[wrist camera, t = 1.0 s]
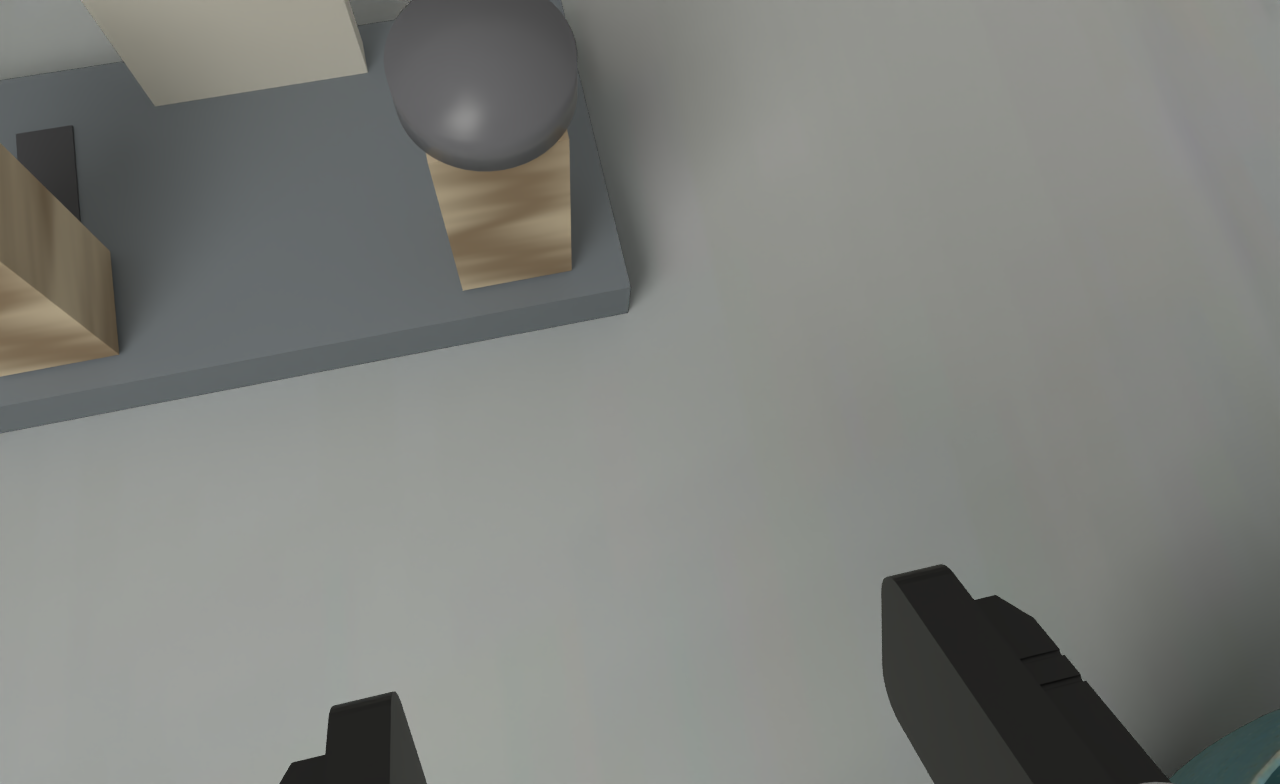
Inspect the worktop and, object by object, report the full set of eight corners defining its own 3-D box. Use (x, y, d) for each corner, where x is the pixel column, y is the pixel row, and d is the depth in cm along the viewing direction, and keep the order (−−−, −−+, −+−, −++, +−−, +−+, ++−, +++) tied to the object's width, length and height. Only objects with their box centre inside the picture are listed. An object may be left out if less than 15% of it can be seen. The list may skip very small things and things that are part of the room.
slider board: (-19, 436, 37) (-210, 347, 28) (-33, 127, 41) (-207, -40, 32) (627, 312, 40) (641, 195, 31) (560, 33, 44) (555, -144, 35)
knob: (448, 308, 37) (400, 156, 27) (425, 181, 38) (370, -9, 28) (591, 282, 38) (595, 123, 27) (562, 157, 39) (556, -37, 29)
